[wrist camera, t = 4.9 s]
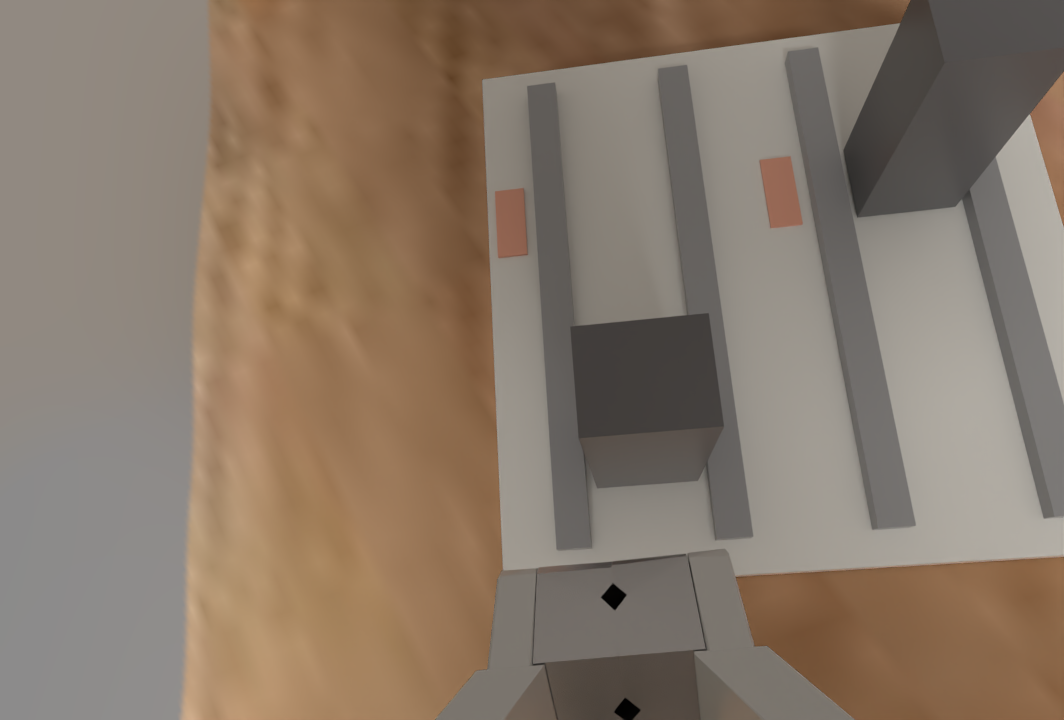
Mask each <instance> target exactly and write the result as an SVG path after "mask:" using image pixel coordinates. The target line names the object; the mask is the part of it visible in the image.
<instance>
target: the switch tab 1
mask: <svg viewBox="0 0 1064 720" xmlns="http://www.w3.org/2000/svg"><path fill="white" fill-rule="evenodd" d="M570 331H571V344H572V357H573V371H574V384H575V397H576V410H577V424H578V437H579V441H580V443H581V446H582V449H583V451H584V454H585V457H586V460H587V462H588V465H589V468H590V470H591V473H592V476H593V478H594V481H595V484H596V486H597V488H609V487H623V486H636V485H649V484H663V483H676V482H689V481H698V480H699V478H700V476H701V474H702V472H703V469H704V467H705V465H706V463H707V461H708V459H709V457H710V455H711V453H712V451H713V449H714V447H715V444H716V442H717V440H718V438H719V436H720V434H721V432H722V430H723V428H724V422H723V414H722V407H721V399H720V392H719V385H718V377H717V370H716V362H715V355H714V348H713V340H712V333H711V325H710V318H709V313H704V314H693V315H683V316H673V317H663V318H653V319H642V320H632V321H622V322H612V323H602V324H591V325H581V326H571V327H570Z"/></svg>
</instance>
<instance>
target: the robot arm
mask: <svg viewBox="0 0 1064 720" xmlns="http://www.w3.org/2000/svg"><path fill="white" fill-rule="evenodd" d="M435 720H855V719H854V718H852V717H851V716H850V715H849V714H848V713H846V712H845V711H844V710H843V709H842V708H840V707H839V706H838V705H837V704H836V703H834V702H833V701H832V700H831V699H830V698H829V697H827V696H826V695H825V694H824V693H823V692H821V691H820V690H819V689H818V688H817V687H815V686H814V685H813V684H812V683H811V682H809V681H808V680H807V679H806V678H805V677H804V676H802V675H801V674H800V673H799V672H798V671H796V670H795V669H794V668H793V667H792V666H790V665H789V664H788V663H787V662H786V661H784V660H783V659H782V658H781V657H780V656H779V655H777V654H776V653H775V652H774V651H773V650H771V649H770V648H769V647H768V646H757V647H755V646H754V642H753V638H752V635H751V631H750V627H749V624H748V620H747V616H746V613H745V609H744V606H743V602H742V598H741V595H740V591H739V587H738V584H737V580H736V577H735V573H734V569H733V566H732V562H731V558H730V555H729V553H728V552H727V550H726V549H725V548H724V549H716V550H707V551H699V552H690V553H687V555H686V554H676V555H667V556H658V557H648V558H639V559H630V560H621V561H612V562H601V563H587V564H574V565H561V566H547V567H539V568H532V569H518V570H504V571H501V573H500V575H499V577H498V579H497V587H496V596H495V605H494V614H493V623H492V632H491V641H490V650H489V659H488V668H487V670H478V671H475V673H474V674H473V675H472V676H471V677H470V679H469V680H468V681H467V682H466V683H465V684H464V686H463V687H462V688H461V689H460V690H459V692H458V693H457V694H456V695H455V696H454V697H453V699H452V700H451V701H450V702H449V703H448V705H447V706H446V707H445V708H444V709H443V710H442V712H441V713H440V714H439V715H438V716H437V718H436V719H435Z"/></svg>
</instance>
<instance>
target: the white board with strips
mask: <svg viewBox="0 0 1064 720" xmlns="http://www.w3.org/2000/svg"><path fill="white" fill-rule="evenodd" d="M899 25H900V23H898V24H891V25H883V26H876V27H868V28H861V29H854V30H846V31H839V32H831V33H824V34H816V35H809V36H802V37H794V38H787V39H779V40H772V41H765V42H757V43H750V44H742V45H735V46H728V47H720V48H713V49H705V50H698V51H691V52H683V53H676V54H668V55H661V56H653V57H646V58H639V59H631V60H624V61H616V62H609V63H602V64H594V65H587V66H579V67H572V68H565V69H557V70H550V71H542V72H535V73H528V74H520V75H513V76H505V77H498V78H490V79H483V80H482V88H483V112H484V135H485V159H486V182H487V206H488V229H489V253H490V276H491V300H492V324H493V347H494V371H495V394H496V418H497V441H498V465H499V488H500V512H501V536H502V559H503V571H504V570H518V569H532V568H539V567H547V566H561V565H574V564H587V563H601V562H612V561H621V560H630V559H639V558H648V557H658V556H667V555H676V554H686V555H687V553H690V552H699V551H707V550H716V549H724V548H725V549H726V550H727V552H728V553H729V555H730V558H731V562H732V566H733V569H734V573H735V577H742V576H758V575H775V574H791V573H807V572H824V571H840V570H856V569H873V568H889V567H906V566H922V565H938V564H955V563H971V562H987V561H1004V560H1020V559H1036V558H1053V557H1064V227H1063V224H1062V220H1061V217H1060V214H1059V210H1058V207H1057V203H1056V200H1055V197H1054V193H1053V190H1052V187H1051V183H1050V180H1049V177H1048V173H1047V170H1046V166H1045V163H1044V160H1043V156H1042V153H1041V150H1040V146H1039V143H1038V140H1037V136H1036V133H1035V129H1034V126H1033V123H1032V119H1031V116H1030V114H1029V115H1028V117H1027V118H1026V119H1025V120H1024V122H1023V123H1022V124H1021V125H1020V127H1019V128H1018V129H1017V130H1016V132H1015V133H1014V134H1013V135H1012V137H1011V138H1010V139H1009V140H1008V142H1007V143H1006V144H1005V145H1004V147H1003V148H1002V149H1001V151H1000V152H999V153H998V154H997V156H996V157H995V158H994V159H993V161H992V162H991V163H990V164H989V166H988V167H987V168H986V169H985V171H984V172H983V173H982V174H981V176H980V177H979V178H978V179H977V181H976V182H975V183H974V184H973V186H972V187H971V188H970V189H969V191H968V192H967V193H966V194H965V196H964V197H963V198H962V199H961V201H960V202H959V203H958V204H957V206H956V207H950V208H941V209H932V210H922V211H913V212H904V213H895V214H886V215H877V216H868V217H858V218H857V214H856V209H855V204H854V199H853V194H852V190H851V185H850V180H849V175H848V170H847V165H846V161H845V156H844V151H843V150H844V147H845V145H846V143H847V141H848V139H849V136H850V134H851V132H852V130H853V127H854V125H855V123H856V121H857V119H858V116H859V114H860V112H861V110H862V107H863V105H864V103H865V101H866V99H867V96H868V94H869V92H870V90H871V87H872V85H873V83H874V81H875V79H876V76H877V74H878V72H879V70H880V67H881V65H882V63H883V61H884V59H885V56H886V54H887V52H888V50H889V47H890V45H891V43H892V41H893V39H894V36H895V34H896V32H897V30H898V27H899ZM704 313H709V318H710V325H711V333H712V340H713V348H714V355H715V362H716V370H717V377H718V385H719V392H720V399H721V407H722V414H723V422H724V428H723V430H722V432H721V434H720V436H719V438H718V440H717V442H716V444H715V447H714V449H713V451H712V453H711V455H710V457H709V459H708V461H707V463H706V465H705V467H704V469H703V472H702V474H701V476H700V478H699V480H698V481H689V482H676V483H663V484H649V485H636V486H623V487H609V488H597V486H596V484H595V481H594V478H593V476H592V473H591V470H590V468H589V465H588V462H587V460H586V457H585V454H584V451H583V449H582V446H581V443H580V441H579V437H578V424H577V410H576V397H575V384H574V371H573V357H572V344H571V331H570V327H571V326H581V325H591V324H602V323H612V322H622V321H632V320H642V319H653V318H663V317H673V316H683V315H693V314H704Z"/></svg>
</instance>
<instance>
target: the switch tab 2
mask: <svg viewBox="0 0 1064 720" xmlns="http://www.w3.org/2000/svg"><path fill="white" fill-rule="evenodd" d="M1063 72H1064V0H911V1H910V3H909V5H908V7H907V10H906V12H905V14H904V16H903V19H902V21H901V23H900V25H899V27H898V30H897V32H896V34H895V36H894V39H893V41H892V43H891V45H890V47H889V50H888V52H887V54H886V56H885V59H884V61H883V63H882V65H881V67H880V70H879V72H878V74H877V76H876V79H875V81H874V83H873V85H872V87H871V90H870V92H869V94H868V96H867V99H866V101H865V103H864V105H863V107H862V110H861V112H860V114H859V116H858V119H857V121H856V123H855V125H854V127H853V130H852V132H851V134H850V136H849V139H848V141H847V143H846V145H845V147H844V150H843V151H844V156H845V161H846V165H847V170H848V175H849V180H850V185H851V190H852V194H853V199H854V204H855V209H856V214H857V218H858V217H868V216H877V215H886V214H895V213H904V212H913V211H922V210H932V209H941V208H950V207H956V206H957V204H958V203H959V202H960V201H961V199H962V198H963V197H964V196H965V194H966V193H967V192H968V191H969V189H970V188H971V187H972V186H973V184H974V183H975V182H976V181H977V179H978V178H979V177H980V176H981V174H982V173H983V172H984V171H985V169H986V168H987V167H988V166H989V164H990V163H991V162H992V161H993V159H994V158H995V157H996V156H997V154H998V153H999V152H1000V151H1001V149H1002V148H1003V147H1004V145H1005V144H1006V143H1007V142H1008V140H1009V139H1010V138H1011V137H1012V135H1013V134H1014V133H1015V132H1016V130H1017V129H1018V128H1019V127H1020V125H1021V124H1022V123H1023V122H1024V120H1025V119H1026V118H1027V117H1028V115H1029V114H1030V113H1031V112H1032V110H1033V109H1034V108H1035V107H1036V105H1037V104H1038V103H1039V102H1040V100H1041V99H1042V98H1043V97H1044V95H1045V94H1046V93H1047V92H1048V90H1049V89H1050V88H1051V87H1052V85H1053V84H1054V83H1055V82H1056V80H1057V79H1058V78H1059V77H1060V75H1061V74H1062V73H1063Z"/></svg>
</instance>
